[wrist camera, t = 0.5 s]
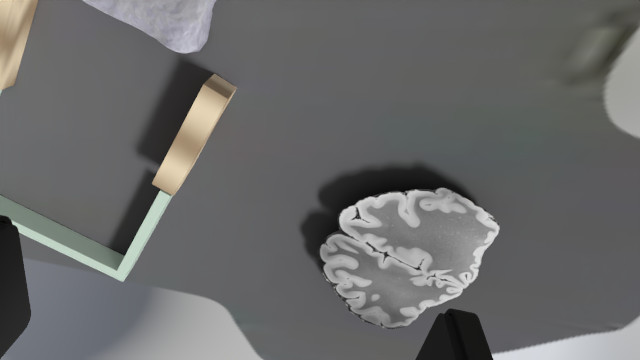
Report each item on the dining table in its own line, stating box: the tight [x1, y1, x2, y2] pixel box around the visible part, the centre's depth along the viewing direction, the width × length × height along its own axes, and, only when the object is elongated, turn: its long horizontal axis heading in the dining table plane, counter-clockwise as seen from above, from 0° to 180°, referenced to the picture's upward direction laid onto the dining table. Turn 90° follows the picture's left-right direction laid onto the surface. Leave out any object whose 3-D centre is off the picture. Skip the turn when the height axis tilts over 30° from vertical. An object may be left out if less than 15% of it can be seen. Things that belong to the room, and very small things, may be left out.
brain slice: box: [318, 188, 500, 329], centre depth 47 cm, size 20×17×3 cm
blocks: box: [0, 0, 237, 196], centre depth 39 cm, size 12×21×4 cm, turn 57°
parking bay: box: [0, 90, 173, 282], centre depth 46 cm, size 14×20×2 cm
